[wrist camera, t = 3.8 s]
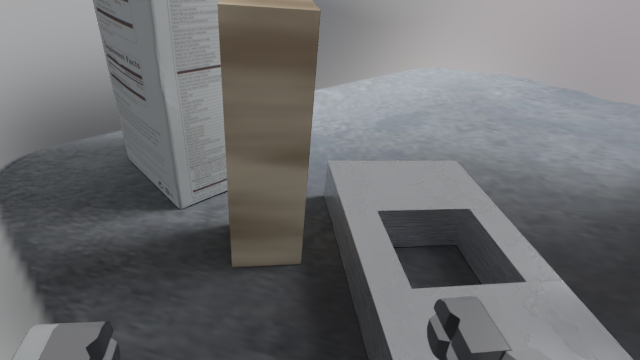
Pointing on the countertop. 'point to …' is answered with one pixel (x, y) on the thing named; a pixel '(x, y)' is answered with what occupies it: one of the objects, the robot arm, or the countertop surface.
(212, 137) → the supplement box
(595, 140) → the countertop surface
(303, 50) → the square peg
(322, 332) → the countertop surface
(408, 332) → the block with square hole
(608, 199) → the countertop surface
